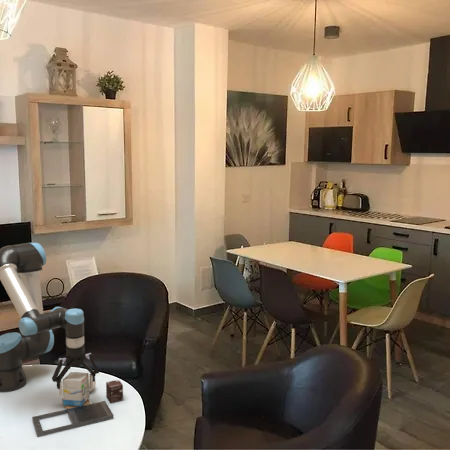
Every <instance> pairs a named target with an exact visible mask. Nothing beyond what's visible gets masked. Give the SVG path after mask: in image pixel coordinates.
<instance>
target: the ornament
mask: <svg viewBox="0 0 450 450" xmlns="http://www.w3.org/2000/svg"><path fill="white" fill-rule="evenodd" d="M96 383H97V382H96V381H95V382H93V390H94V389H95V388H96V385H97V384H96ZM93 390H91V389H90V376H89V393H91V392H92V391H93Z"/></svg>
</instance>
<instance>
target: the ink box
mask: <svg viewBox="0 0 450 450" xmlns="http://www.w3.org/2000/svg"><path fill="white" fill-rule="evenodd" d="M89 374H90V372H80V371H70V372H69V373H68V374H67V375H65V376H64V377H63V378H62V399H63V400H62V403H63V406H65V405H70V406H82V405H83V404H84V403H85V402H86V401H87V400H89V399H90V392H89Z"/></svg>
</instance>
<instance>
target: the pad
mask: <svg viewBox="0 0 450 450" xmlns="http://www.w3.org/2000/svg"><path fill="white" fill-rule="evenodd" d="M62 401H63V398H62ZM88 404H92V403H91V402H90V400H89V399H88V400H87V401H86V402H85V403H84V404H83V405H88ZM83 405H82V406H83ZM64 407H65V410H66V409H70V408H75V407H79V406H70V405H64Z"/></svg>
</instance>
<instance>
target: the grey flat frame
mask: <svg viewBox="0 0 450 450" xmlns="http://www.w3.org/2000/svg"><path fill="white" fill-rule="evenodd" d="M62 415H67V416H68V418H69V422H70V423H71V424H67V425H63V426H59V427H55V428H54V427H53V428H49V429H46V430H43V427H42V424H41V421H40V420H44V419H48V418H54V417H58V416H62ZM114 416H115V415H114V413H113V412H112V410H111V409H110V407H109V405H108V403H107V402H106V400H103V401H96V402H93V403H91V404H88V405H83V406H79V407H75V408H70V409H66V408H65V409H63V410H62V409H61V410H58V411H53V412H48V413H45V414H39V415H35V416H32V418H31V421H32V424H33V427H34V431H35V434H36V437H37V438H39V437H43V436H48V435H51V434H56V433H59V432H63V431H67V430H68V431H69V430H71V429H75V428H80V427H85V426H89V425H92V424H96V423H100V422H105V421H109V420H113V419H114ZM114 420H115V419H114Z"/></svg>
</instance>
